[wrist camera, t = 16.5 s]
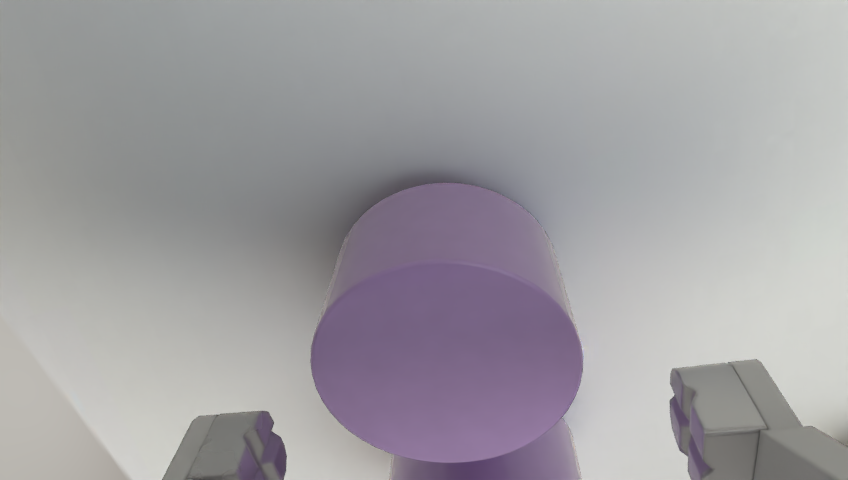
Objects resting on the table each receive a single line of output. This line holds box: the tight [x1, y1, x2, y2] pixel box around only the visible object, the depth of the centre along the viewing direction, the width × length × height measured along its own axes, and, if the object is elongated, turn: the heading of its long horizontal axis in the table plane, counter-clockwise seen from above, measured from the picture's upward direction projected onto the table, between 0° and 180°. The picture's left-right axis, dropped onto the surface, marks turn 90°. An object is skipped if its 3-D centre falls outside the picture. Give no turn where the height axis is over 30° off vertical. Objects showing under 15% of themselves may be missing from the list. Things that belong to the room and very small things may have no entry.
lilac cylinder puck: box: [310, 183, 583, 463], centre depth 15 cm, size 6×6×5 cm
